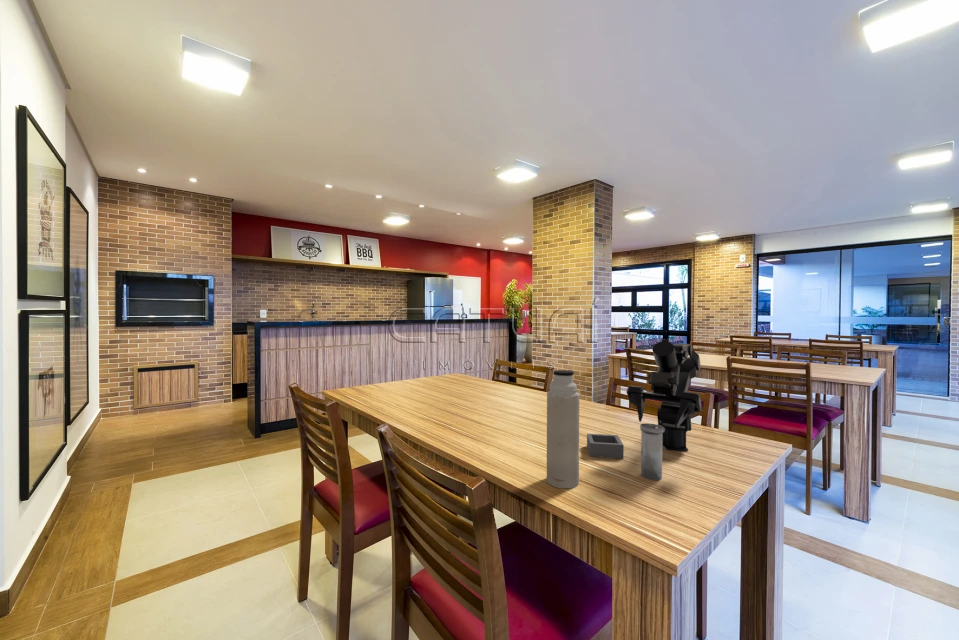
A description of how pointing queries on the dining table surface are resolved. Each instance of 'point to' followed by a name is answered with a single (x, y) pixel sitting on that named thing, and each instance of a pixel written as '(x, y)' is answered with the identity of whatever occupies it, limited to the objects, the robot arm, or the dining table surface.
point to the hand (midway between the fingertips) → (657, 423)
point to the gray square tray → (605, 446)
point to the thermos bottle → (563, 431)
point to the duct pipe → (651, 451)
